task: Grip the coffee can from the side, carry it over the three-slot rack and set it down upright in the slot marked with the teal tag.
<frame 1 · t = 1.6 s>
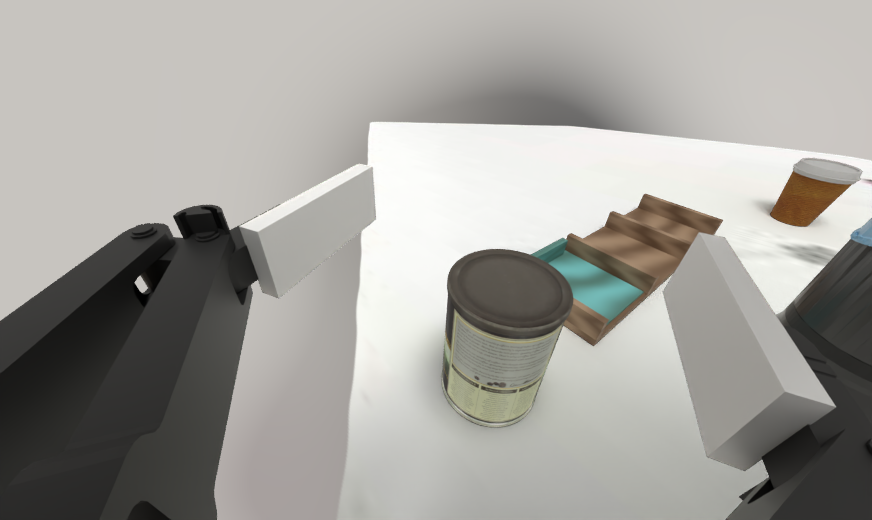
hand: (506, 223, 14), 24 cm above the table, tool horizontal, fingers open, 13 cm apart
slot rack: (622, 259, 55), on the table
coffee can: (487, 382, 35), on the table
disposable coffee cup: (788, 220, 70), on the table
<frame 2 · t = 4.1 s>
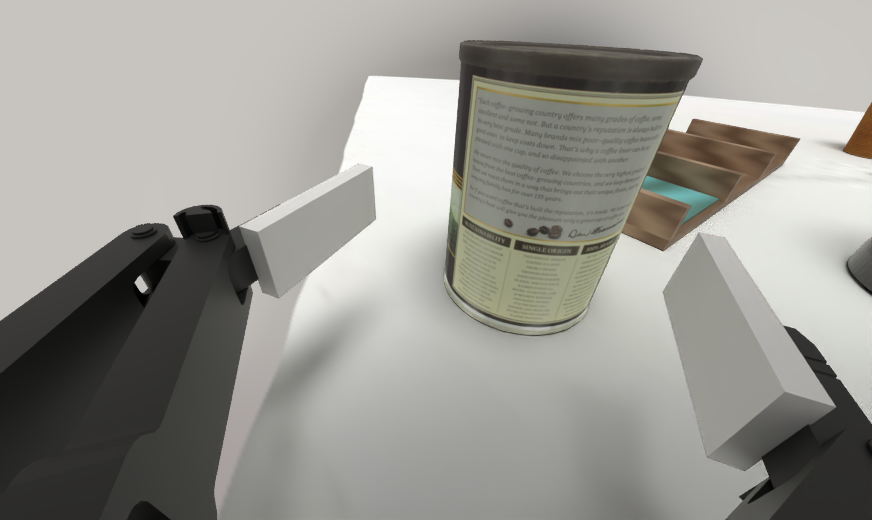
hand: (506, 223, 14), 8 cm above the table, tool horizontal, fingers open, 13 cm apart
slot rack: (676, 176, 43), on the table
coffee can: (513, 284, 23), on the table
disposable coffee cup: (866, 156, 57), on the table
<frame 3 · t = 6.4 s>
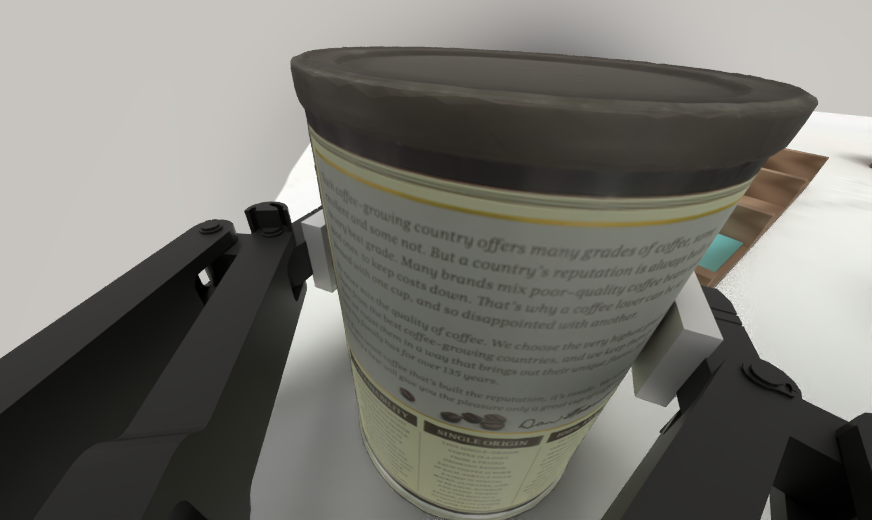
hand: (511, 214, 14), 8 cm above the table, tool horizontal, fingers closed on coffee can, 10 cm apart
slot rack: (686, 205, 36), on the table
coffee can: (463, 399, 16), on the table, touching gripper
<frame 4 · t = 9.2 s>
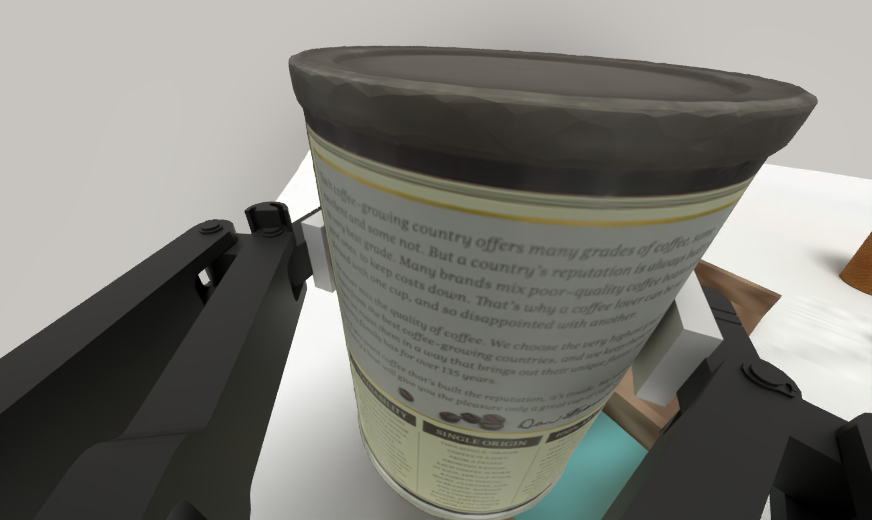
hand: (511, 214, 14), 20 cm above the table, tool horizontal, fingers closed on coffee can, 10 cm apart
slot rack: (617, 360, 33), on the table
coffee can: (462, 399, 16), point 12 cm above the table, touching gripper
disposable coffee cup: (867, 287, 48), on the table
when the fingers open (10 cm above the table, at t = 12.1 s): coffee can drops 1 cm, resting on slot rack.
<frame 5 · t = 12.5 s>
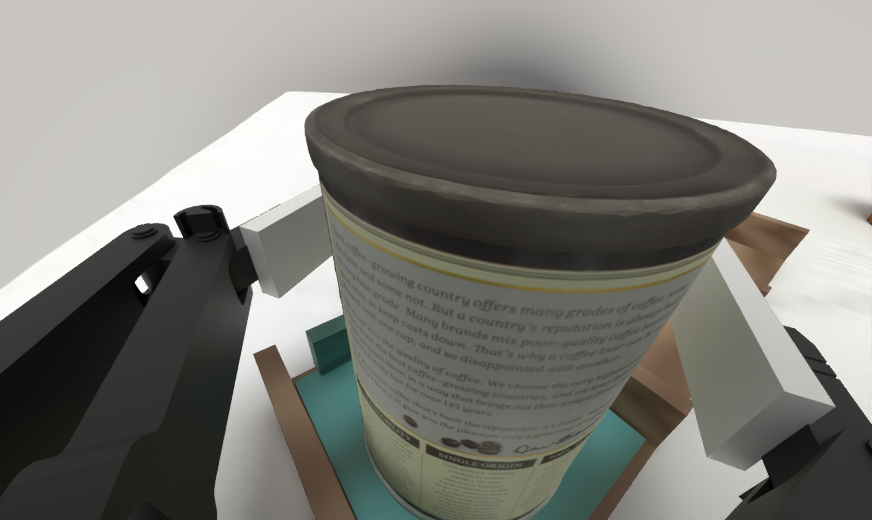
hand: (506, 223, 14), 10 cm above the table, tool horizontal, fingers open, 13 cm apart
slot rack: (597, 314, 24), on the table
coffee can: (463, 412, 16), point 1 cm above the table, touching slot rack
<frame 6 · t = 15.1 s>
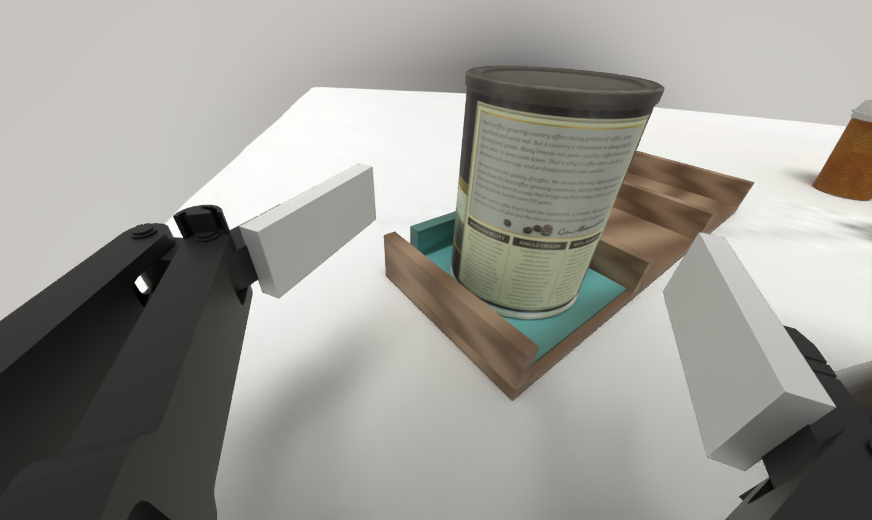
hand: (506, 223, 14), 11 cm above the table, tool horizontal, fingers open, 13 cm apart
slot rack: (595, 237, 34), on the table
coffee can: (511, 276, 26), point 1 cm above the table, touching slot rack
disposable coffee cup: (839, 193, 49), on the table
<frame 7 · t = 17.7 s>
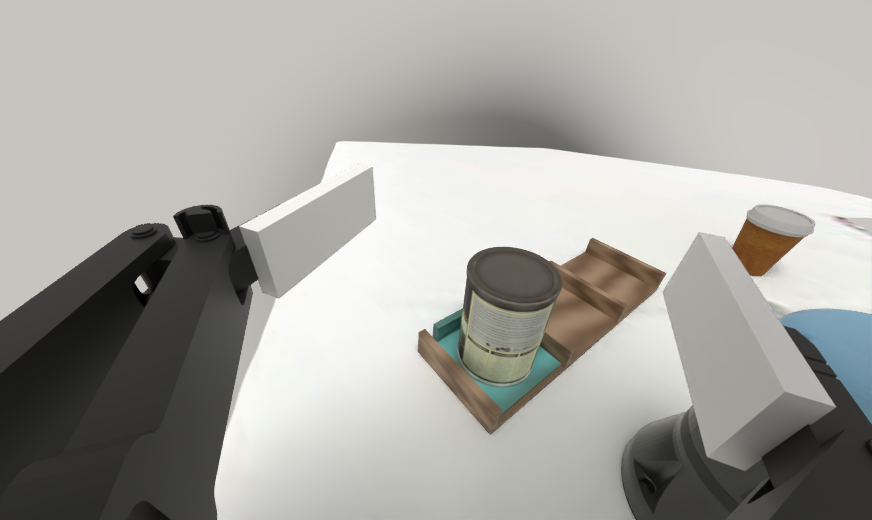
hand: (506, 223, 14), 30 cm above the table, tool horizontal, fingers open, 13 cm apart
slot rack: (552, 317, 51), on the table
coffee can: (494, 354, 43), point 1 cm above the table, touching slot rack
disposable coffee cup: (743, 267, 66), on the table
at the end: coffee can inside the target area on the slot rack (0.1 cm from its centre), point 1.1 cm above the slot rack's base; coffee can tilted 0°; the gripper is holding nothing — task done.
